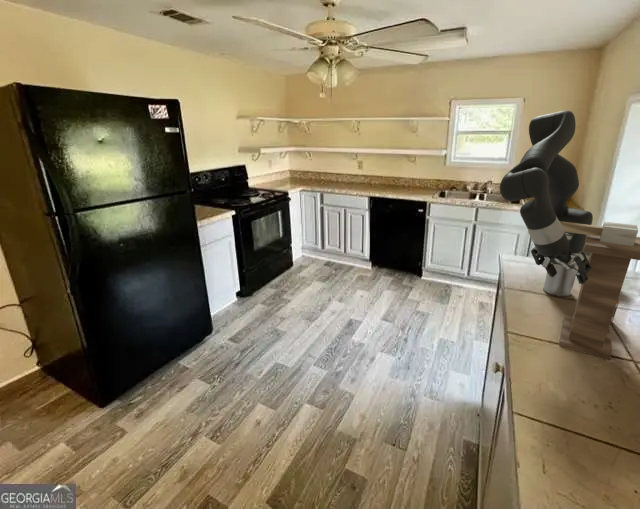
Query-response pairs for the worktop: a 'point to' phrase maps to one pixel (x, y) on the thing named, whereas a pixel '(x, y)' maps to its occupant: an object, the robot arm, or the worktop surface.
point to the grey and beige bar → (605, 232)
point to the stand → (598, 297)
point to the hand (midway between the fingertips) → (568, 278)
